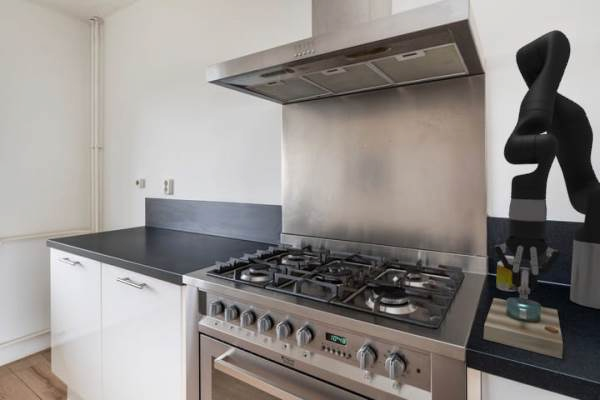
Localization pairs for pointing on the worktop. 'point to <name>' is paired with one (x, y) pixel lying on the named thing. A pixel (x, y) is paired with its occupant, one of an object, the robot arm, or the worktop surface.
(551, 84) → the robot arm
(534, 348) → the stand
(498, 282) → the supplement bottle
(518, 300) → the teal knob with stem
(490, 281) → the worktop surface
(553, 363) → the worktop surface
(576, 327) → the worktop surface
